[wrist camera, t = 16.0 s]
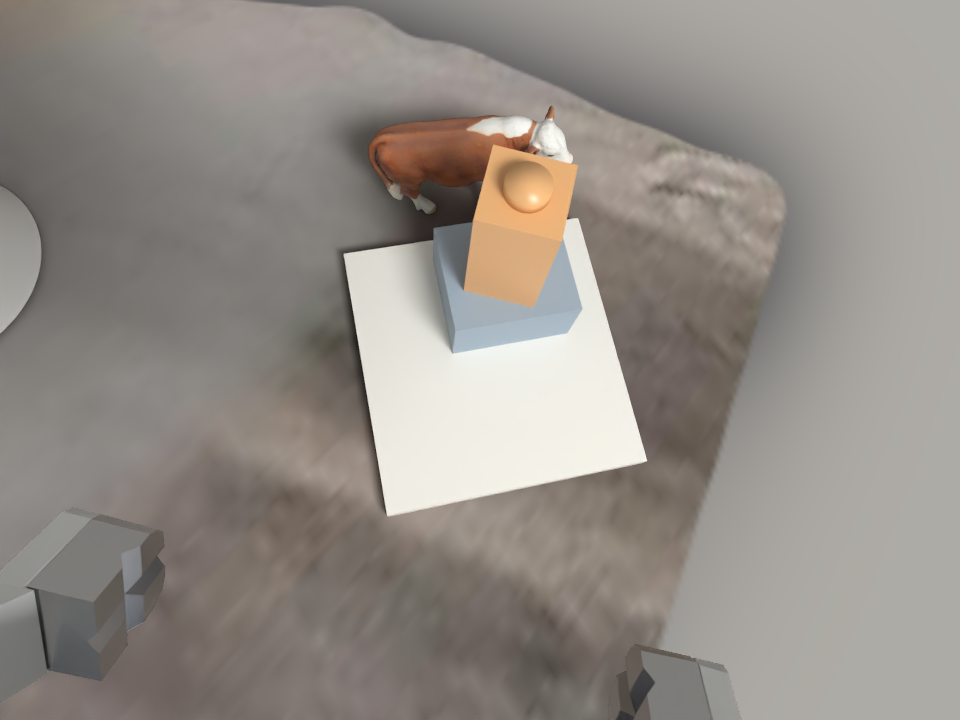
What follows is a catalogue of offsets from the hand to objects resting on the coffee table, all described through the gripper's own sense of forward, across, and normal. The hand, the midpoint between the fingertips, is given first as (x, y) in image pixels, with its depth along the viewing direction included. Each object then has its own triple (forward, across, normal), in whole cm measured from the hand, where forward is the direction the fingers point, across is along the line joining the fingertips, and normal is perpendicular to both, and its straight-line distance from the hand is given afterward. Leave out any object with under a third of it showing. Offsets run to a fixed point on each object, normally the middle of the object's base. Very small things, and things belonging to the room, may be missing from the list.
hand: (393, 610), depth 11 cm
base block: (+33, -1, +7) cm, 34 cm away
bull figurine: (+40, +3, +2) cm, 40 cm away
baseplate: (+31, -1, +11) cm, 33 cm away
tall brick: (+30, -1, +4) cm, 30 cm away
